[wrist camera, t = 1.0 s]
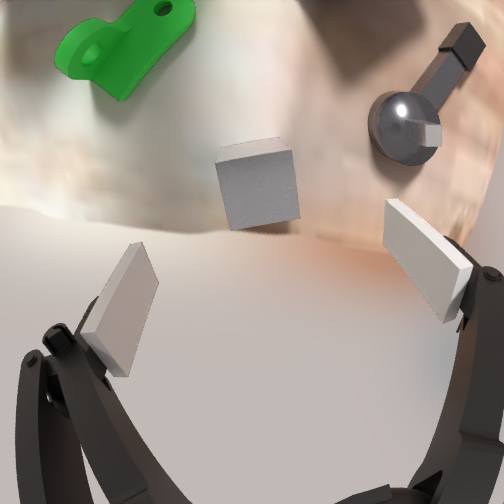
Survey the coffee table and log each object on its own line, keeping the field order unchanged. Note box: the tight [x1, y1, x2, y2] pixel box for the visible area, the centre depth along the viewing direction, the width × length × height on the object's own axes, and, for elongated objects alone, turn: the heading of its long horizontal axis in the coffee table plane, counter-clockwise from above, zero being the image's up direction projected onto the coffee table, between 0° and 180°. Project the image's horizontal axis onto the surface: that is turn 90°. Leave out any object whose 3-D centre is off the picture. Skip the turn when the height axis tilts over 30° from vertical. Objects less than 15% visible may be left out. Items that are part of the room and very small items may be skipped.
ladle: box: [368, 22, 486, 166], centre depth 19 cm, size 8×22×6 cm, turn 145°
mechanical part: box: [54, 0, 196, 101], centre depth 16 cm, size 12×6×8 cm, turn 136°
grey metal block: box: [215, 137, 300, 231], centre depth 24 cm, size 6×6×7 cm
